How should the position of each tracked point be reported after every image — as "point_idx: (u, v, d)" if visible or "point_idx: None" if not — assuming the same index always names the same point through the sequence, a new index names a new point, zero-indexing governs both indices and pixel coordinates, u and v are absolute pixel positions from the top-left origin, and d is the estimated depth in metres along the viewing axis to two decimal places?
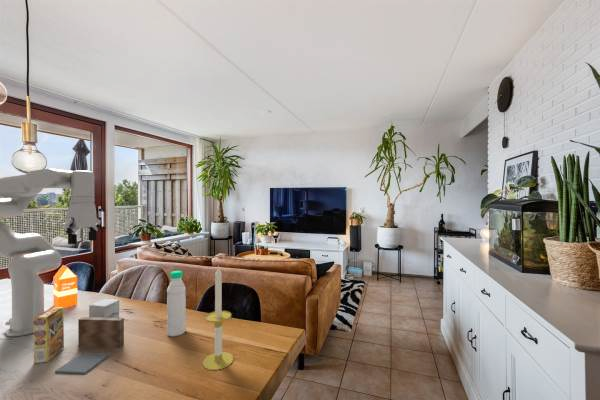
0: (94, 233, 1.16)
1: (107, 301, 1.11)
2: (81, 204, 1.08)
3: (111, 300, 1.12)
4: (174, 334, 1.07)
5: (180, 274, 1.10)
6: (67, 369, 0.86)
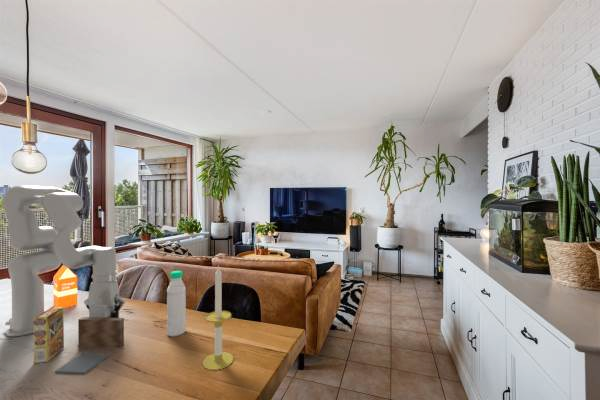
0: None
1: None
2: None
3: None
4: (174, 334, 1.07)
5: (180, 274, 1.10)
6: (67, 369, 0.86)
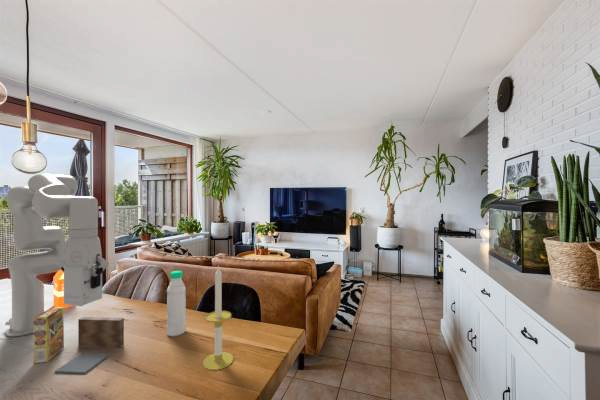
0: None
1: None
2: None
3: None
4: (174, 334, 1.07)
5: (180, 274, 1.10)
6: (67, 369, 0.86)
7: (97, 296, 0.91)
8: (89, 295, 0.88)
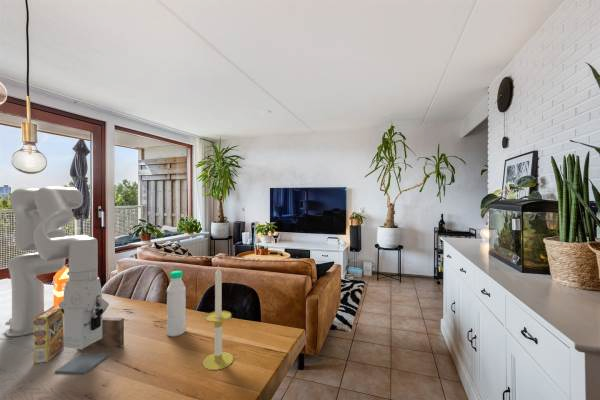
0: None
1: None
2: None
3: None
4: (174, 334, 1.07)
5: (180, 274, 1.10)
6: (67, 369, 0.86)
7: (97, 336, 0.91)
8: (89, 337, 0.88)
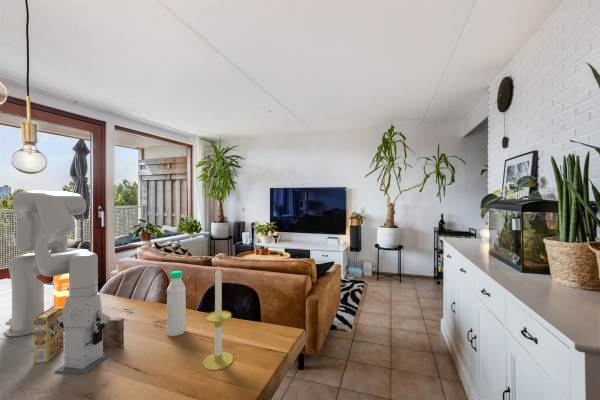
0: None
1: None
2: None
3: None
4: (174, 334, 1.07)
5: (180, 274, 1.10)
6: (67, 369, 0.86)
7: (98, 355, 0.91)
8: (90, 356, 0.88)
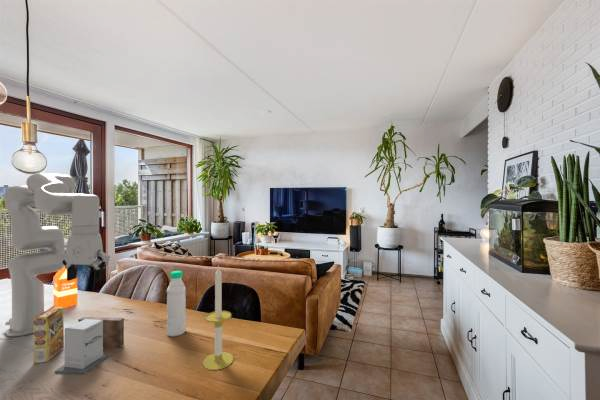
0: (75, 269, 0.95)
1: (87, 323, 0.90)
2: None
3: (93, 321, 0.92)
4: (174, 334, 1.07)
5: (180, 274, 1.10)
6: (67, 369, 0.86)
7: (98, 355, 0.91)
8: (90, 356, 0.88)
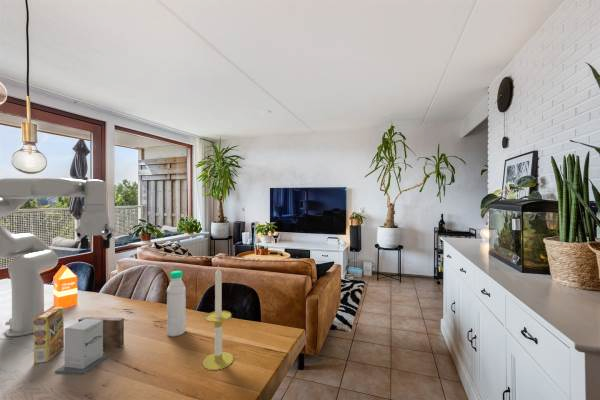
0: (87, 240, 1.18)
1: (87, 323, 0.90)
2: None
3: (93, 320, 0.92)
4: (174, 334, 1.07)
5: (180, 274, 1.10)
6: (67, 369, 0.86)
7: (98, 355, 0.91)
8: (90, 356, 0.88)
